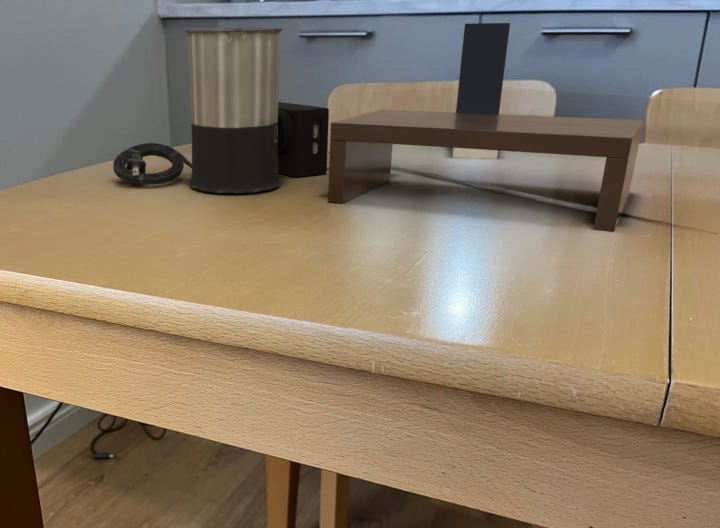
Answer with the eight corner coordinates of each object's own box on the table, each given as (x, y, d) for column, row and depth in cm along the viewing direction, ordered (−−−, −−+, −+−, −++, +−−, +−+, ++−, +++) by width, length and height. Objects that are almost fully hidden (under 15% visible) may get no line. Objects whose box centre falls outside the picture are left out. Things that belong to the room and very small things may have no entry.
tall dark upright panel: (452, 148, 99) (464, 23, 93) (491, 149, 98) (507, 23, 92) (452, 161, 89) (466, 23, 83) (496, 162, 88) (513, 22, 82)
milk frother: (295, 191, 73) (298, 25, 67) (137, 204, 69) (126, 26, 63) (245, 169, 86) (244, 27, 80) (107, 178, 81) (95, 28, 75)
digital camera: (235, 165, 88) (235, 103, 85) (274, 161, 90) (275, 100, 87) (285, 179, 80) (286, 110, 77) (326, 174, 82) (329, 107, 79)
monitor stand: (376, 179, 79) (381, 109, 76) (627, 200, 68) (643, 120, 65) (327, 202, 69) (330, 122, 66) (614, 231, 58) (632, 137, 55)
